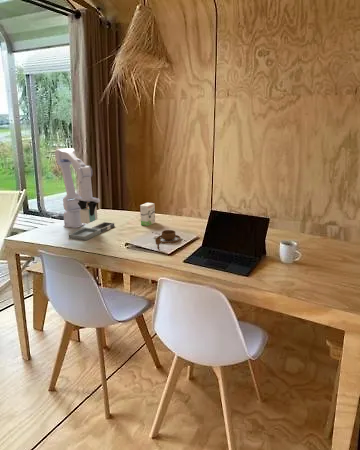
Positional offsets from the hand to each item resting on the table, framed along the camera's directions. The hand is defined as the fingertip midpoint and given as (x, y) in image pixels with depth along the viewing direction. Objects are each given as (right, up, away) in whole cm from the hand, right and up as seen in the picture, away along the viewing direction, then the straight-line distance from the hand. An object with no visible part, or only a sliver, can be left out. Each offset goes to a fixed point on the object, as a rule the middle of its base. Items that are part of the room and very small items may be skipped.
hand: (88, 215), depth 194 cm
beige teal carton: (0, -3, +1) cm, 4 cm away
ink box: (+30, -5, +20) cm, 36 cm away
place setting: (+40, -14, -12) cm, 44 cm away
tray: (-2, -11, 0) cm, 11 cm away
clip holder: (+6, -7, +11) cm, 15 cm away
